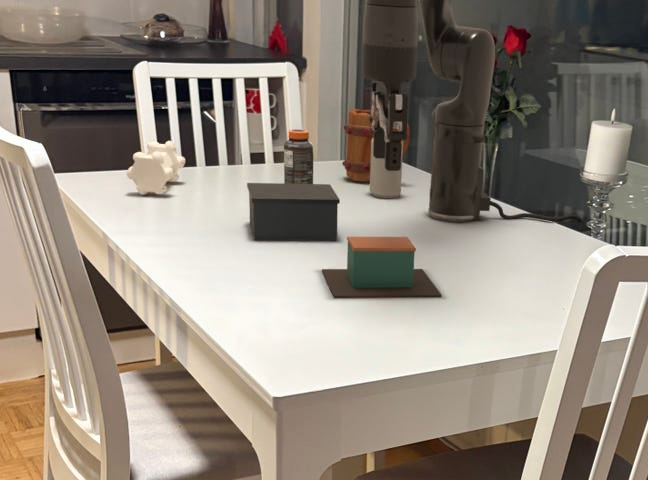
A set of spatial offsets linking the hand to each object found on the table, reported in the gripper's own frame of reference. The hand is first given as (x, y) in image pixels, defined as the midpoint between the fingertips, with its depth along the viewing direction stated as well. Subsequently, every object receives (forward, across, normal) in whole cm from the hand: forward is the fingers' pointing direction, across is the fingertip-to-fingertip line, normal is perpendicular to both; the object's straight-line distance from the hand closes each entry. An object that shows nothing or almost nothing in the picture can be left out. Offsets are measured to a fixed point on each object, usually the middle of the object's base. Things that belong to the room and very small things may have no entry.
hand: (386, 164), depth 140 cm
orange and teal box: (+17, -2, +1) cm, 17 cm away
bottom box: (+17, +28, +10) cm, 34 cm away
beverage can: (+18, +56, -12) cm, 61 cm away
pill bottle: (+18, +63, +5) cm, 66 cm away
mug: (+18, +70, -12) cm, 73 cm away
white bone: (+18, +60, +33) cm, 71 cm away
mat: (+17, -2, +1) cm, 17 cm away
